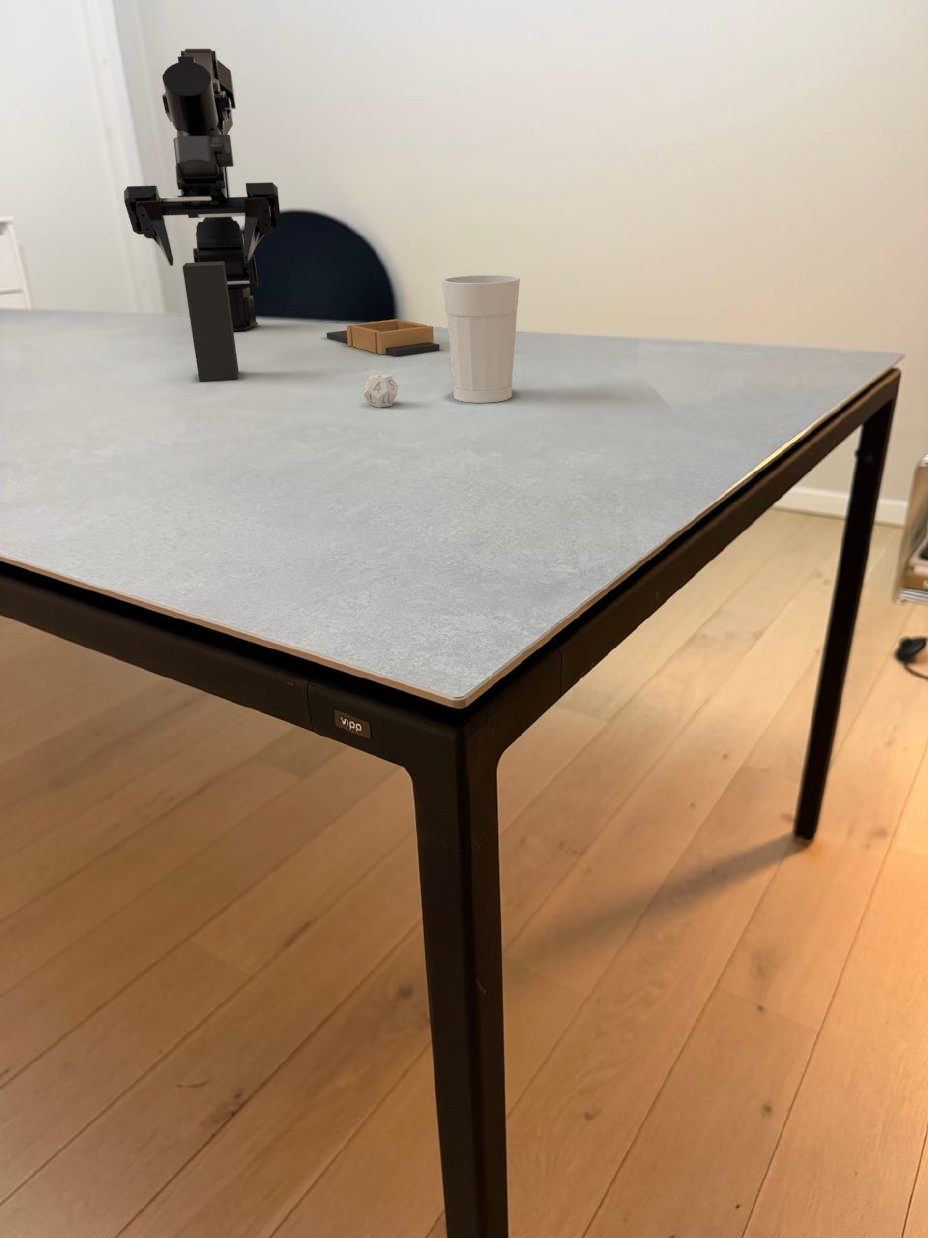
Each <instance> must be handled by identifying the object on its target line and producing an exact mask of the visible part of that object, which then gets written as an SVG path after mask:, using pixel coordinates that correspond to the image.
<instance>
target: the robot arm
mask: <svg viewBox="0 0 928 1238" xmlns="http://www.w3.org/2000/svg"><path fill="white" fill-rule="evenodd" d="M162 83H163V87H164V93H163V94H162V95H161V96H162V103H163V107H164V112H165V114H166V117H167V118H168V121H169V122H170V123H172V126H173V127H174V129H175V130H176V137H174V138H173V150H174V156H175V159H174V160H175V179H176V187H177V190H178V191H180V195H160V193H159V188H158V185H128V186H126V188H125V189H124V190H123V201H124V205H125V209H126V212H127V216H128V218H129V221H130V222H129V223H130V225H131V229H132V232H133V233H135V234H136V235H141V236H142V235H143V237H145V239H148V240H149V239H150V240H151V239H152V240H153V241H154V242H155V243H156V244H157V246H158V247H159V248H160V250H161V251H162V254H163V255H164V257H165V258H166V261H167V263H168V265H169V266H170V267H173V266H174V256H173V251H172V246H171V243H170V238H169V234H168V230H167V225H166V221H165V217H166V216H167V217H168V216H187V217H188V219H202V218H203V220H202V221H198V222H197V224H196V227H195V228H196V229H195V231H196V232H195V239H196V247H193V249H192V251H193V252H192V253H193V255H192V256H193V263H197V262H222V261H224V262H225V270H226V278H227V280H231V281H227V285H228V293H229V301H230V309H231V317H232V324H233V332H234V331H237V332H239V331H241V332H243V331H246V330H249V329H251V328H254V327H256V326H258V325H259V321H257V314H256V306H255V298H254V296H253V295H251V289H254V288H257V287H259V279H258V271H257V264H256V257H255V255H254V252H255V249H256V248H257V246H258V244H259V243H260V242H261V240H262V238H263V237H264V236H265V235H270V234H272V231H277V230H279V229H280V228H281V227H282V220H281V210H280V197H279V189H278V186H277V185H276V184H275V183H274V182H272V181H271V182H268V181H267V182H245V192H246V196H231V191H230V182H229V181H230V180H229V171H228V170H229V169H228V168H229V167H230V168H233V167H234V166H235V165H234V164H235V163H234V157H233V147H232V146H233V145H232V140H231V139H232V138H231V135H230V134H229V132H230V131H231V129H232V127H233V126H234V119H233V110H236V109H237V107H236V96H235V88H234V83H233V75H232V71H231V69H229V68H228V67H227V66H226V65H225V64H224V63H222V62H221V61H220V60H219V59H218V57H217V51H216V50H212V49H211V48H185V49H184V50H180V56H177V62H176V63H174V64H171V65H170V66H169V67H167V68H166V69H165V71H164V73H162ZM234 217H244V227H243V228H244V229H243V230H242V228H241V226H240V224H239V222H238V221H237V220H235V219H234ZM233 279H237V280H233ZM238 279H248V280H238Z"/></svg>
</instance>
